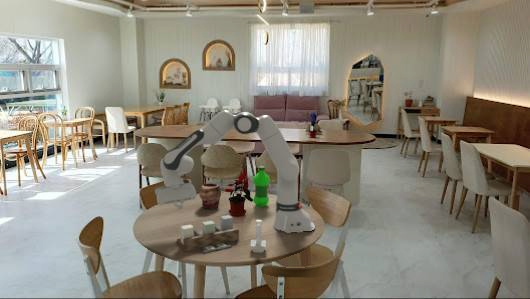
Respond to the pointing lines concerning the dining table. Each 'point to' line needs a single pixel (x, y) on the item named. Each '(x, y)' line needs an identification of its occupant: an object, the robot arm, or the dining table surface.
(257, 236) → the white upright post stand
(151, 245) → the dining table surface
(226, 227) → the pale blue upright block
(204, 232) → the sage key
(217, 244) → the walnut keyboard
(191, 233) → the cream rectangular block
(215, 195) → the decorative planter
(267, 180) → the plastic bottle
